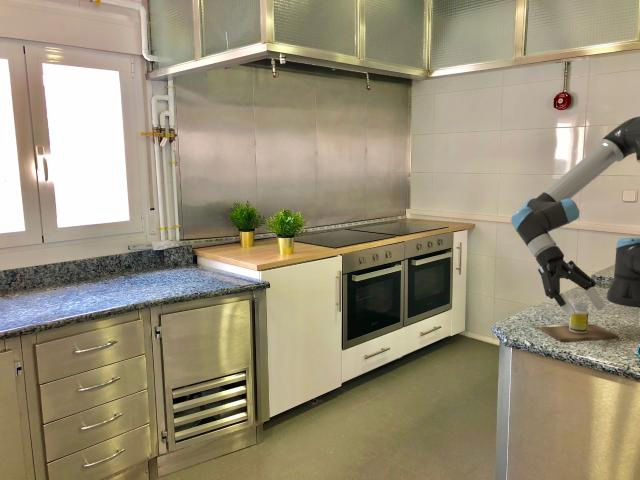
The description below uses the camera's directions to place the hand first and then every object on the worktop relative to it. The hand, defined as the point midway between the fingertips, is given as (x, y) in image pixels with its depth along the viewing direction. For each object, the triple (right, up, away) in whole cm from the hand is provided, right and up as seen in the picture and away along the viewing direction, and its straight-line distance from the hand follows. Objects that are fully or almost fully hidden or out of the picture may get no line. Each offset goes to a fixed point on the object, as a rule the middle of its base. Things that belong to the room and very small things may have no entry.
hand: (587, 311), depth 148 cm
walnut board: (-1, -7, +4) cm, 8 cm away
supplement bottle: (-1, -6, +3) cm, 7 cm away
